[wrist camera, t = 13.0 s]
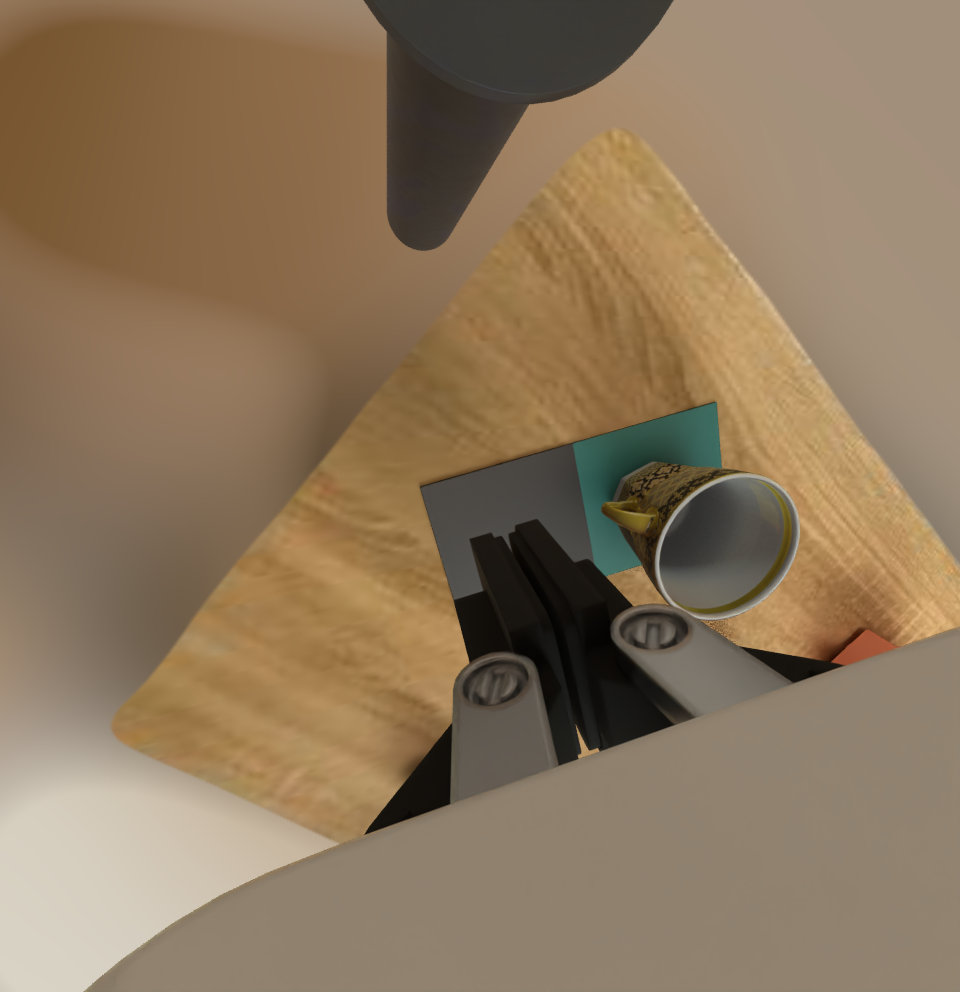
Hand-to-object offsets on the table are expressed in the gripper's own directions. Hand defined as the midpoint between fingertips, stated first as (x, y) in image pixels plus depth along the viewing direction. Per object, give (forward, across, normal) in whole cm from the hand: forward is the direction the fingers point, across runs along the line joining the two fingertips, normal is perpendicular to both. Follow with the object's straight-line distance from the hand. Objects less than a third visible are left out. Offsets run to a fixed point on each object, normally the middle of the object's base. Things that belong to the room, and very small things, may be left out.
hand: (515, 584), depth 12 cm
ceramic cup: (+25, -14, +10) cm, 31 cm away
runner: (+25, -10, +10) cm, 29 cm away
